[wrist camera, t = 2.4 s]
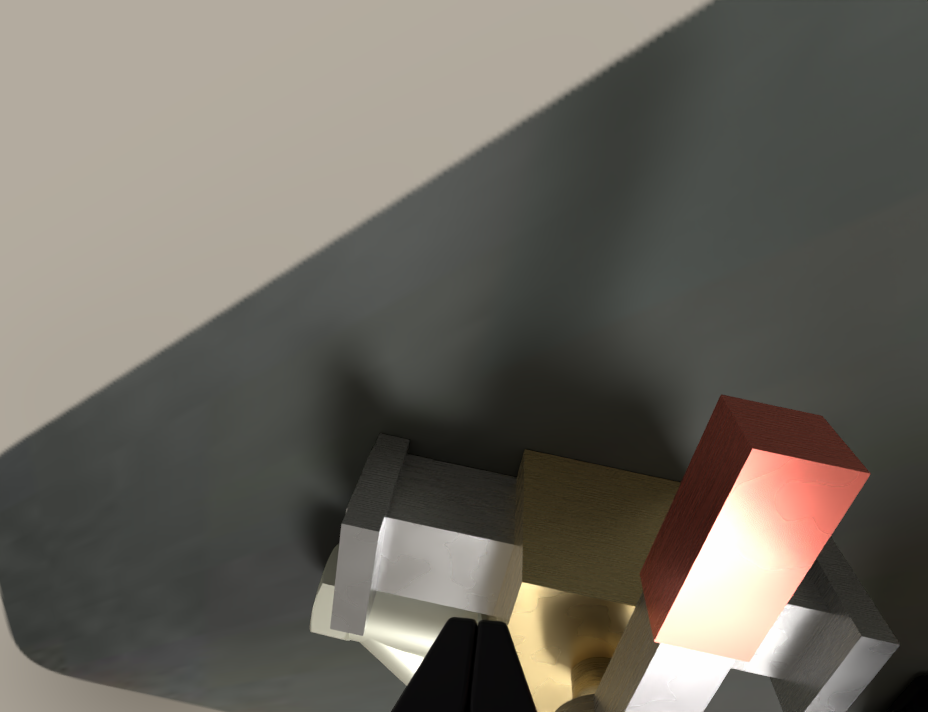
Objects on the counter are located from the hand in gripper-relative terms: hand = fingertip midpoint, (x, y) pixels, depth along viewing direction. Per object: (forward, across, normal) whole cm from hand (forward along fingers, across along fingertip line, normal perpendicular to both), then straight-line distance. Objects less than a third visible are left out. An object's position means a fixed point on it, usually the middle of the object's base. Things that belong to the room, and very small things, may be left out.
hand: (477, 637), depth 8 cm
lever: (+4, -4, +5) cm, 8 cm away
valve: (+12, -3, +9) cm, 16 cm away
